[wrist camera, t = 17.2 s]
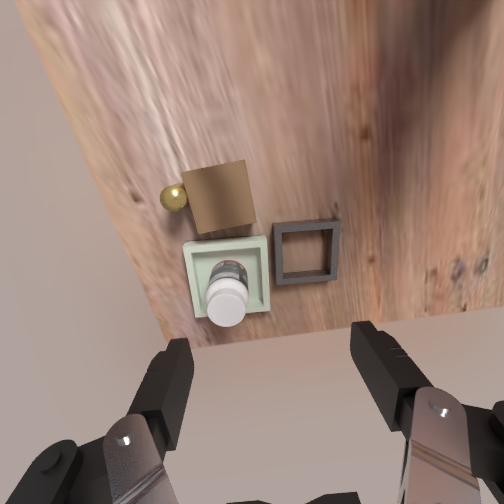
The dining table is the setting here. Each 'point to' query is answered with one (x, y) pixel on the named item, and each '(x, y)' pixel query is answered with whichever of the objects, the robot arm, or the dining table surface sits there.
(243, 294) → the pill bottle
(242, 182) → the walnut block
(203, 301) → the tray
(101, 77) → the dining table surface
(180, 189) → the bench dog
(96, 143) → the dining table surface
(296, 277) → the collar
